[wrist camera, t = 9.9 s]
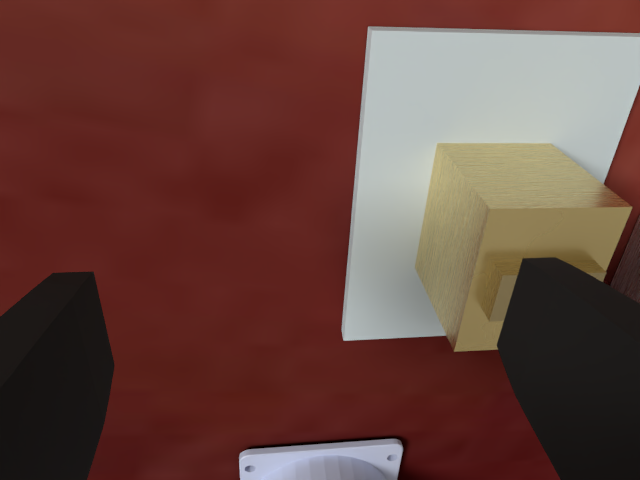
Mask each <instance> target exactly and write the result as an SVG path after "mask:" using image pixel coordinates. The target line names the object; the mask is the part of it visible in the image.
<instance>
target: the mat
mask: <svg viewBox="0 0 640 480" xmlns="http://www.w3.org/2000/svg"><path fill="white" fill-rule="evenodd" d="M639 85H640V33H606V32H566V31H527V30H488V29H448V28H409V27H369V26H368V34H367V45H366V56H365V68H364V79H363V91H362V102H361V113H360V125H359V136H358V148H357V159H356V171H355V182H354V193H353V205H352V216H351V228H350V239H349V251H348V262H347V273H346V285H345V296H344V308H343V319H342V330H341V331H342V335H343V340H344V341H347V340H367V339H387V338H407V337H427V336H446V333H445V331H444V329H443V327H442V325H441V323H440V321H439V318H438V316H437V314H436V312H435V310H434V308H433V306H432V303H431V301H430V299H429V297H428V295H427V293H426V291H425V288H424V286H423V284H422V282H421V280H420V278H419V276H418V274H417V271H416V269H415V263H416V257H417V252H418V246H419V240H420V235H421V229H422V224H423V218H424V213H425V207H426V201H427V196H428V190H429V185H430V179H431V174H432V168H433V162H434V157H435V151H436V146H437V143H551V144H552V145H553V146H555V147H556V148H557V149H559V150H560V151H561V152H562V153H564V154H565V155H566V156H568V157H569V158H570V159H571V160H573V161H574V162H575V163H577V164H578V165H579V166H580V167H582V168H583V169H584V170H586V171H587V172H588V173H589V174H591V175H592V176H593V177H595V178H596V179H597V180H598V181H600V182H601V183H602V184H604V181H605V179H606V176H607V173H608V170H609V168H610V165H611V162H612V159H613V157H614V154H615V151H616V148H617V146H618V143H619V140H620V137H621V135H622V132H623V129H624V127H625V124H626V121H627V118H628V116H629V113H630V110H631V107H632V105H633V102H634V99H635V96H636V94H637V91H638V88H639Z"/></svg>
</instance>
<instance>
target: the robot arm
mask: <svg viewBox="0 0 640 480" xmlns="http://www.w3.org/2000/svg"><path fill="white" fill-rule="evenodd" d="M497 348H498V351H499V353H500V356H501V359H502V362H503V365H504V367H505V370H506V373H507V375H508V378H509V380H510V383H511V385H512V388H513V390H514V393H515V395H516V397H517V399H518V401H519V403H520V405H521V407H522V409H523V411H524V413H525V415H526V417H527V418H528V420H529V422H530V424H531V426H532V428H533V430H534V431H535V433H536V435H537V437H538V439H539V441H540V443H541V444H542V446H543V448H544V450H545V452H546V453H547V455H548V457H549V459H550V461H551V463H552V464H553V466H554V468H555V470H556V472H557V474H558V475H559V477H560V479H561V480H640V304H639V303H638V302H636V301H634V300H633V299H631V298H629V297H627V296H626V295H624V294H622V293H621V292H619V291H617V290H615V289H614V288H612V287H610V286H609V285H607V284H605V283H603V282H602V281H600V280H598V279H596V278H595V277H593V276H591V275H589V274H587V273H586V272H584V271H582V270H580V269H578V268H576V267H574V266H573V265H571V264H569V263H567V262H564V261H562V260H560V259H558V258H556V257H547V258H523V259H522V262H521V265H520V269H519V272H518V275H517V279H516V282H515V285H514V289H513V292H512V295H511V299H510V302H509V305H508V309H507V312H506V315H505V319H504V322H503V325H502V329H501V332H500V335H499V339H498V342H497ZM113 371H114V361H113V356H112V352H111V347H110V343H109V339H108V334H107V330H106V325H105V321H104V316H103V312H102V307H101V303H100V299H99V294H98V290H97V285H96V281H95V276H94V272H68V273H52V274H51V275H50V276H49V277H47V278H46V279H45V280H43V281H42V282H41V283H40V284H38V285H37V286H36V287H35V288H34V289H33V290H31V291H30V292H29V293H28V294H27V295H25V296H24V297H23V298H22V299H21V300H20V301H18V302H17V303H16V304H15V305H14V306H13V307H11V308H10V309H9V310H8V311H7V312H6V313H4V314H3V315H2V316H1V317H0V480H87V477H88V474H89V471H90V468H91V465H92V461H93V458H94V455H95V452H96V448H97V445H98V442H99V439H100V435H101V432H102V429H103V425H104V422H105V416H106V411H107V406H108V401H109V395H110V389H111V383H112V377H113ZM402 453H403V446H402V443H401V441H400V440H398V439H380V440H366V441H353V442H339V443H326V444H312V445H299V446H285V447H271V448H258V449H248V450H245V451H243V452H242V453H241V454H240V456H239V466H240V480H397V478H398V473H399V468H400V463H401V458H402Z"/></svg>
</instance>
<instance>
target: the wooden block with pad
mask: <svg viewBox="0 0 640 480" xmlns="http://www.w3.org/2000/svg"><path fill="white" fill-rule="evenodd" d="M631 210H632V206H631V205H629V204H628V203H627V202H625V201H624V200H623V199H622V198H620V197H619V196H618V195H616V194H615V193H614V192H613V191H611V190H610V189H609V188H607V187H606V186H605V185H604V184H602V183H601V182H600V181H598V180H597V179H596V178H595V177H593V176H592V175H591V174H589V173H588V172H587V171H586V170H584V169H583V168H582V167H580V166H579V165H578V164H577V163H575V162H574V161H573V160H571V159H570V158H569V157H568V156H566V155H565V154H564V153H562V152H561V151H560V150H559V149H557V148H556V147H555V146H553V145H552V144H551V143H437V146H436V151H435V157H434V162H433V168H432V174H431V179H430V185H429V190H428V196H427V201H426V207H425V213H424V218H423V224H422V229H421V235H420V240H419V246H418V252H417V257H416V263H415V269H416V271H417V274H418V276H419V278H420V280H421V282H422V284H423V286H424V288H425V291H426V293H427V295H428V297H429V299H430V301H431V303H432V306H433V308H434V310H435V312H436V314H437V316H438V318H439V321H440V323H441V325H442V327H443V329H444V331H445V333H446V336H447V338H448V340H449V342H450V344H451V346H452V348H453V351H454V352H456V351H477V350H498V348H497V342H498V339H499V335H500V332H501V329H502V325H503V322H504V319H505V315H506V312H507V309H508V305H509V302H510V299H511V295H512V292H513V289H514V285H515V282H516V279H517V275H518V272H519V269H520V265H521V262H522V259H523V258H547V257H556V258H558V259H560V260H562V261H564V262H567V263H569V264H571V265H573V266H574V267H576V268H578V269H580V270H582V271H584V272H586V273H587V274H589V275H591V276H593V277H595V278H596V279H598V280H600V281H602V282H603V280H604V278H605V275H606V273H607V272H606V270H607V268H608V265H609V263H610V260H611V258H612V255H613V253H614V251H615V248H616V246H617V243H618V241H619V239H620V236H621V234H622V231H623V229H624V227H625V224H626V222H627V219H628V217H629V215H630V212H631Z"/></svg>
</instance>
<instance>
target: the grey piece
mask: <svg viewBox="0 0 640 480" xmlns="http://www.w3.org/2000/svg"><path fill="white" fill-rule="evenodd" d="M610 287H612V288H614V289H615V290H617V291H619V292H621V293H622V294H624V295H626V296H627V297H629V298H631V299H633V300H634V301H636V302H638V303H639V304H640V215H639V218H638V220H637V223H636V225H635V227H634V230H633V232H632V235H631V237H630V239H629V242H628V244H627V246H626V249H625V251H624V254H623V256H622V258H621V261H620V263H619V265H618V268H617V270H616V273H615V275H614V277H613V280H612V282H611V285H610Z"/></svg>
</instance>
